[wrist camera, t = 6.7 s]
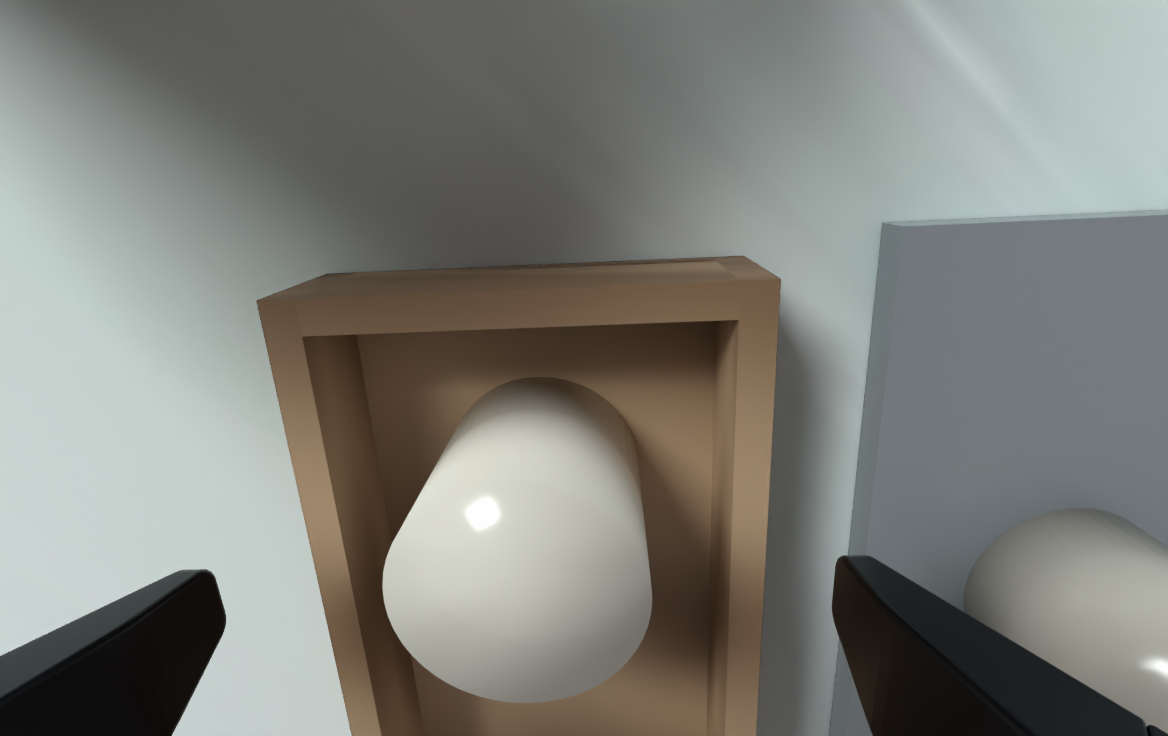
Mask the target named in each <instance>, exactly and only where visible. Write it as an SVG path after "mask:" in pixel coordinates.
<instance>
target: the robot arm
mask: <svg viewBox="0 0 1168 736" xmlns="http://www.w3.org/2000/svg"><path fill="white" fill-rule="evenodd" d="M832 613H833V619H834V623H835V626H836V629H837V632H838V635H839V638H840V641H841V644H842V647H843V650H844V653H845V656H846V659H847V662H848V666H849V669H850V672H851V675H852V678H853V681H854V684H855V687H856V690H857V693H858V696H859V699H860V702H861V705H862V708H863V711H864V714H865V717H866V719H867V722H868V725H869V728H870V731H871V733H872V735H873V736H1168V734H1167V733H1166V732H1164V731H1162V730H1161V729H1159V728H1157V727H1156V726H1154V725H1147V726H1146V723H1145V721H1144V720H1143V719H1142V718H1140V717H1139V716H1137V715H1135V714H1134V713H1132V712H1130V711H1129V710H1127V709H1125V708H1124V707H1122V706H1120V705H1119V704H1117V703H1115V702H1114V701H1112V700H1110V699H1109V698H1107V697H1105V696H1104V695H1102V694H1100V693H1099V692H1097V691H1095V690H1094V689H1092V688H1090V687H1089V686H1087V685H1085V684H1084V683H1082V682H1080V681H1079V680H1077V679H1075V678H1074V677H1072V676H1070V675H1069V674H1067V673H1065V672H1064V671H1062V670H1060V669H1059V668H1057V667H1055V666H1054V665H1052V664H1050V663H1049V662H1047V661H1045V660H1044V659H1042V658H1040V657H1039V656H1037V655H1035V654H1034V653H1032V652H1030V651H1029V650H1027V649H1025V648H1024V647H1022V646H1020V645H1019V644H1017V643H1015V642H1014V641H1012V640H1010V639H1009V638H1007V637H1005V636H1004V635H1002V634H1000V633H998V632H997V631H995V630H993V629H992V628H990V627H988V626H987V625H985V624H983V623H982V622H980V621H978V620H977V619H975V618H973V617H972V616H970V615H968V614H967V613H965V612H963V611H962V610H960V609H958V608H957V607H955V606H953V605H952V604H950V603H948V602H947V601H945V600H943V599H942V598H940V597H938V596H937V595H935V594H933V593H932V592H930V591H928V590H927V589H925V588H923V587H922V586H920V585H918V584H917V583H915V582H913V581H912V580H910V579H908V578H907V577H905V576H903V575H902V574H900V573H898V572H897V571H895V570H893V569H892V568H890V567H888V566H887V565H885V564H883V563H882V562H880V561H878V560H877V559H875V558H873V557H871V556H869V555H843V556H841V557H840V558H838V560H837V563H836V567H835V577H834V588H833V598H832ZM225 625H226V614H225V610H224V606H223V603H222V599H221V596H220V592H219V589H218V585H217V582H216V578H215V576H214V575H213V573H212V572H211V571H209V570H206V569H201V570H181V571H177V572H175V573H173V574H171V575H169V576H166V577H164V578H162V579H160V580H158V581H156V582H154V583H152V584H150V585H148V586H146V587H144V588H141V589H139V590H137V591H135V592H133V593H131V594H129V595H127V596H125V597H123V598H121V599H119V600H116V601H114V602H112V603H110V604H108V605H106V606H104V607H102V608H100V609H98V610H96V611H93V612H91V613H89V614H87V615H85V616H83V617H81V618H79V619H77V620H75V621H73V622H71V623H68V624H66V625H64V626H62V627H60V628H58V629H56V630H54V631H52V632H50V633H48V634H46V635H43V636H41V637H39V638H37V639H35V640H33V641H31V642H29V643H27V644H25V645H23V646H21V647H18V648H16V649H14V650H12V651H10V652H8V653H6V654H4V655H2V656H0V736H172V734H173V732H174V730H175V728H176V726H177V724H178V723H179V721H180V719H181V717H182V715H183V713H184V711H185V709H186V707H187V705H188V703H189V701H190V699H191V697H192V695H193V693H194V691H195V689H196V687H197V685H198V683H199V681H200V679H201V677H202V675H203V673H204V671H205V669H206V667H207V665H208V663H209V661H210V659H211V657H212V655H213V653H214V651H215V649H216V647H217V645H218V643H219V641H220V639H221V637H222V635H223V632H224V629H225Z"/></svg>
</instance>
